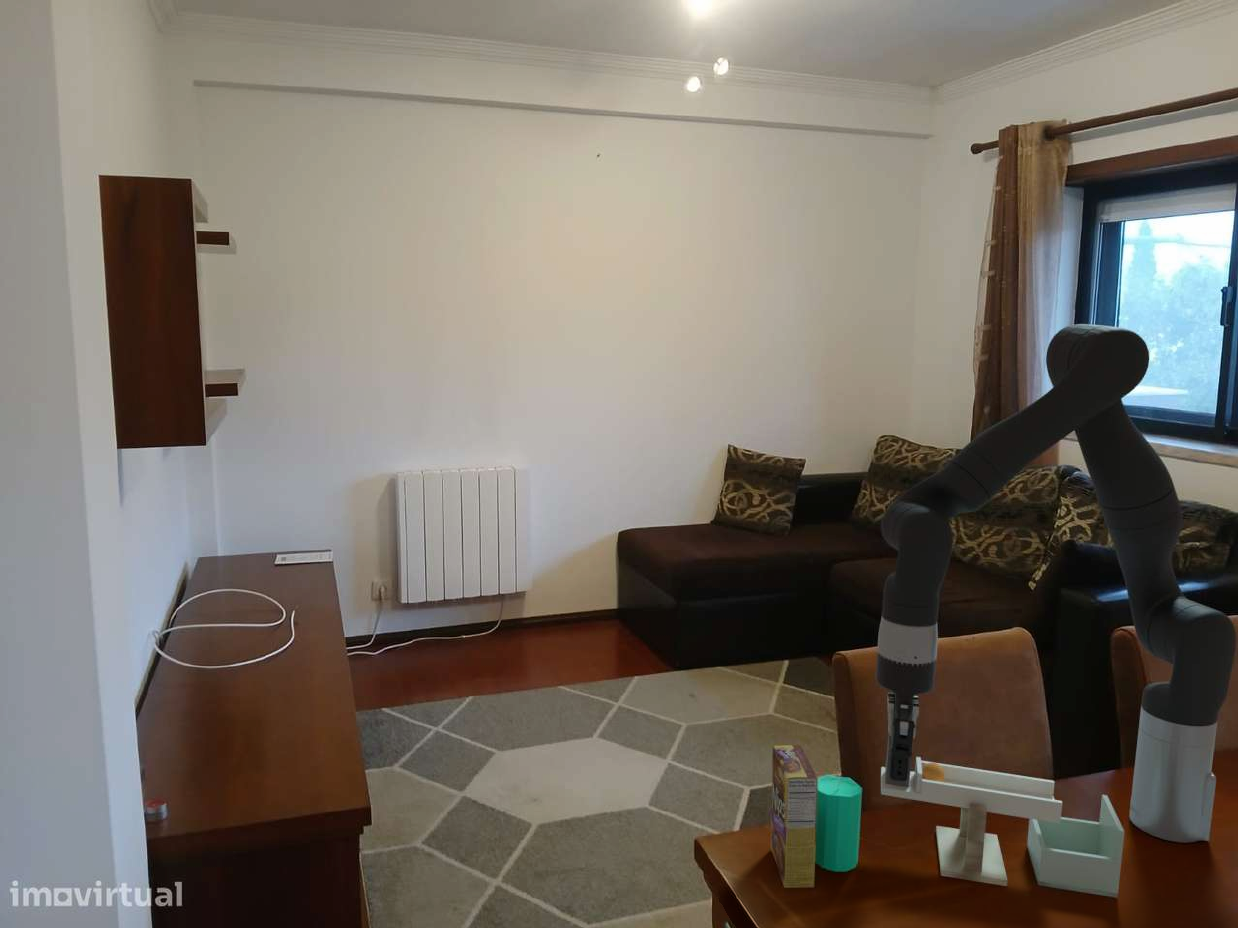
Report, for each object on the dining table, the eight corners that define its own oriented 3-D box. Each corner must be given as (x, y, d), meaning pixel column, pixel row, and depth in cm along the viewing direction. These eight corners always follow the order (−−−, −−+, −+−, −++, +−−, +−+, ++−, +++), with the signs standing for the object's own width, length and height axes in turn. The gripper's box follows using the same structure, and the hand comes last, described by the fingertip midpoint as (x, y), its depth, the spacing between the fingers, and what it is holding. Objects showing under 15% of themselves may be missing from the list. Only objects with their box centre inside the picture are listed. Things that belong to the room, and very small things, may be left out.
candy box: (767, 849, 126) (771, 743, 123) (798, 848, 126) (803, 743, 124) (781, 889, 117) (786, 776, 115) (814, 888, 117) (820, 776, 115)
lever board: (1050, 803, 124) (1056, 749, 123) (1060, 830, 117) (1066, 773, 116) (880, 776, 130) (884, 724, 128) (880, 800, 123) (885, 746, 122)
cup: (1100, 857, 125) (1107, 795, 123) (1117, 897, 116) (1124, 831, 115) (1027, 845, 127) (1032, 785, 126) (1038, 884, 119) (1044, 819, 117)
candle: (858, 874, 120) (864, 788, 118) (811, 868, 122) (816, 783, 120) (856, 848, 126) (861, 766, 124) (811, 843, 127) (816, 761, 125)
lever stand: (996, 839, 129) (1001, 775, 127) (1007, 886, 118) (1013, 816, 117) (935, 830, 131) (940, 767, 129) (941, 875, 120) (946, 806, 119)
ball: (945, 779, 125) (942, 758, 125) (946, 789, 122) (944, 768, 122) (922, 779, 126) (919, 758, 126) (923, 790, 123) (920, 769, 123)
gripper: (940, 674, 115) (929, 802, 118) (933, 636, 128) (924, 752, 131) (877, 666, 117) (868, 793, 120) (877, 630, 130) (869, 745, 133)
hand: (897, 771), depth 125 cm, fingers closed on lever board, 3 cm apart
